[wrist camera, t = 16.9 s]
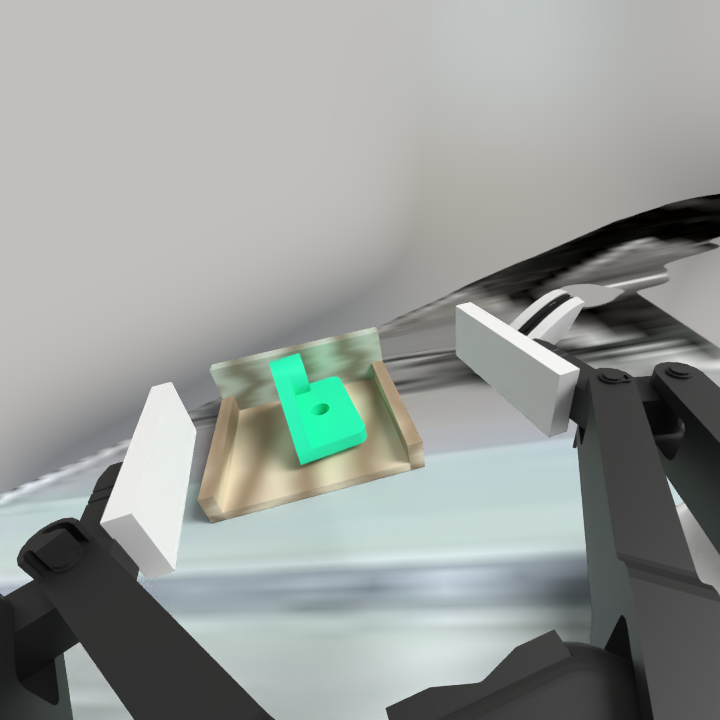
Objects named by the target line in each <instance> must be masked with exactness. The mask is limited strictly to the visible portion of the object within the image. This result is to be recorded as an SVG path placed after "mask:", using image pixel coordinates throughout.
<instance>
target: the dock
mask: <svg viewBox="0 0 720 720" xmlns="http://www.w3.org/2000/svg"><path fill="white" fill-rule="evenodd" d="M297 353H299V354H300V357H301V359H302V362H303V365H304V368H305V372H306V375H307V378H308V382H309V384H310V383H313V382H317V381H320V380H323V379H326V378H329V377H339V378H340V380H341V382H342V384H343V385H344V387H345V389H346V391H347V393H348V395H349V396H350V398H351V400H352V402H353V404H354V406H355V407H356V409H357V411H358V413H359V415H360V417H361V419H362V420H363V422H364V424H365V429H366V434H367V438H366V440H365V441H364V442H363V443H361V444H358V445H355V446H353V447H350V448H347V449H344V450H342V451H339V452H336V453H333V454H330V455H328V456H325V457H322V458H319V459H317V460H314V461H311V462H308V463H306V464H303V465H301V464H300V461H299V458H298V455H297V452H296V449H295V445H294V442H293V439H292V436H291V433H290V429H289V426H288V423H287V420H286V417H285V414H284V410H283V407H282V404H281V401H280V398H279V394H278V391H277V388H276V385H275V382H274V378H273V375H272V372H271V368H270V364H269V362H270V361H274V360H277V359H280V358H284V357H287V356H290V355H294V354H297ZM210 372H211V374H212V377H213V379H214V381H215V383H216V385H217V388H218V390H219V392H220V394H221V397H222V402H221V407H220V411H219V415H218V419H217V423H216V427H215V431H214V435H213V439H212V443H211V447H210V451H209V455H208V459H207V463H206V467H205V471H204V475H203V479H202V483H201V487H200V491H199V495H198V500H197V501H198V502H199V504H200V506H201V507H202V509H203V511H204V512H205V514H206V516H207V517H208V519H209V521H210V522H211V523H214V522H218V521H222V520H226V519H229V518H233V517H237V516H241V515H244V514H248V513H252V512H256V511H259V510H263V509H267V508H271V507H274V506H278V505H282V504H286V503H289V502H293V501H297V500H301V499H304V498H308V497H312V496H316V495H319V494H323V493H327V492H331V491H334V490H338V489H342V488H346V487H349V486H353V485H357V484H361V483H364V482H368V481H372V480H376V479H379V478H383V477H387V476H391V475H395V474H398V473H402V472H406V471H410V470H413V469H417V468H421V467H425V464H424V454H423V443H422V440H421V438H420V436H419V434H418V432H417V430H416V428H415V426H414V424H413V422H412V420H411V418H410V416H409V414H408V412H407V410H406V408H405V406H404V404H403V402H402V400H401V397H400V395H399V393H398V391H397V389H396V387H395V385H394V383H393V381H392V379H391V377H390V375H389V373H388V371H387V369H386V367H385V365H384V363H383V361H382V356H381V349H380V342H379V336H378V331H377V329H376V327H373V328H369V329H364V330H360V331H356V332H351V333H347V334H343V335H339V336H334V337H330V338H326V339H321V340H317V341H313V342H308V343H304V344H299V345H296V346H291V347H287V348H282V349H278V350H274V351H269V352H265V353H261V354H256V355H252V356H248V357H243V358H239V359H234V360H230V361H226V362H221V363H217V364H213V365H212V366H211V369H210Z"/></svg>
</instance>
